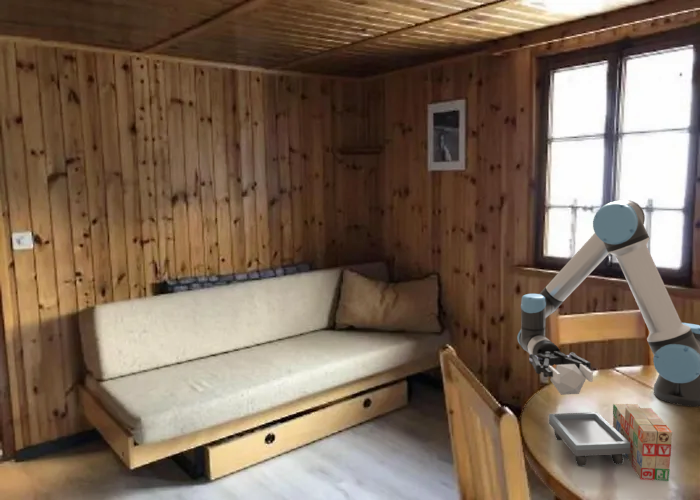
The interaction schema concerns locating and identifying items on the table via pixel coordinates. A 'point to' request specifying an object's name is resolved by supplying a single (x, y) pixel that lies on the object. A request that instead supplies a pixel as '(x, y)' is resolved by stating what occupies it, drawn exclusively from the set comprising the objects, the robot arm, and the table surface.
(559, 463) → the table surface
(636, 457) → the stack of blocks
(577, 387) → the die
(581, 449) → the trolley
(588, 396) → the table surface
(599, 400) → the table surface
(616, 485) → the table surface
